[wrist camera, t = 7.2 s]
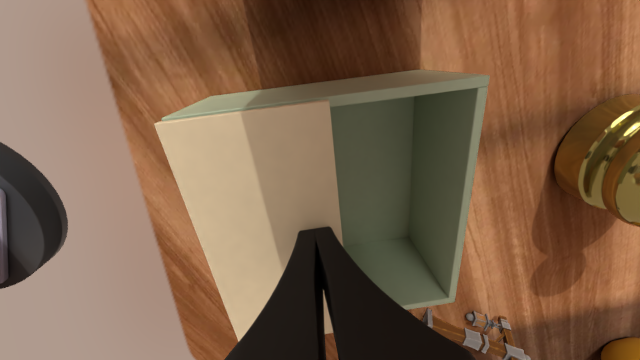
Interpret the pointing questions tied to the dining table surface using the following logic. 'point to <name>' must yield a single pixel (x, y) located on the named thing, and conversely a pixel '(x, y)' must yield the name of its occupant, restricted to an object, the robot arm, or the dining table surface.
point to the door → (254, 194)
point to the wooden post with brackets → (510, 355)
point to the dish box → (394, 170)
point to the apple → (622, 349)
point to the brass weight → (604, 158)
